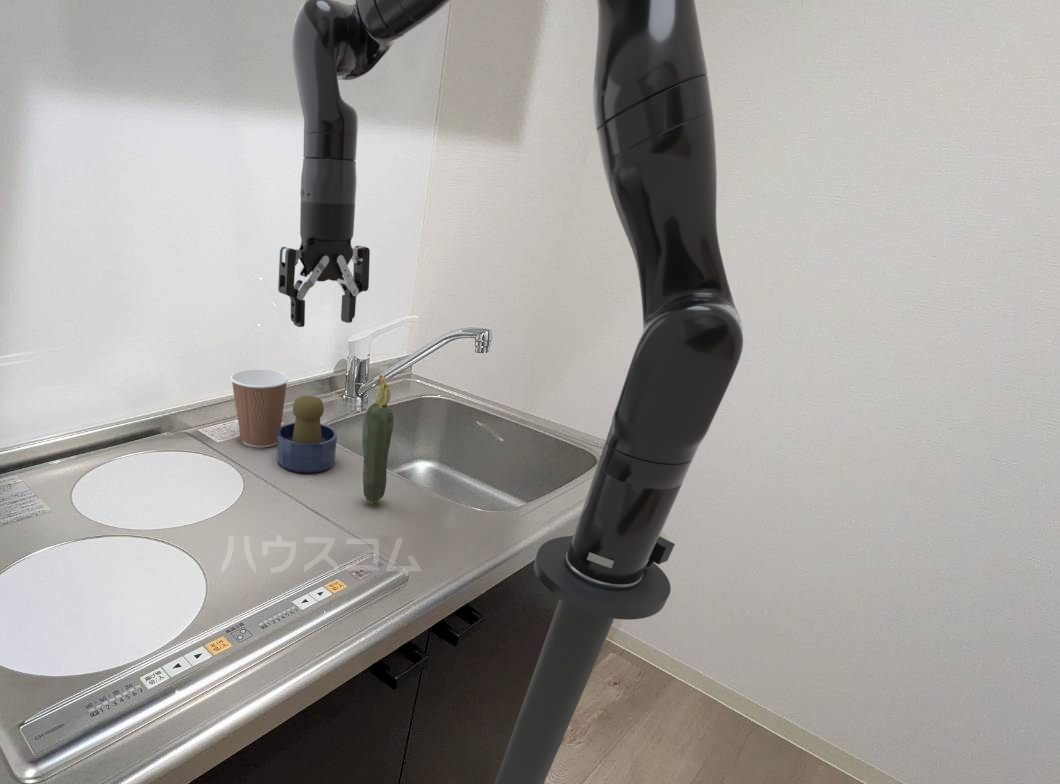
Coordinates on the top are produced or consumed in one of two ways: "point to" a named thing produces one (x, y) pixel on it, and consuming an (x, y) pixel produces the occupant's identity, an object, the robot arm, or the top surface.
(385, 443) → the vegetable
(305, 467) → the bowl
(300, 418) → the cork
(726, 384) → the robot arm
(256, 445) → the coffee cup
